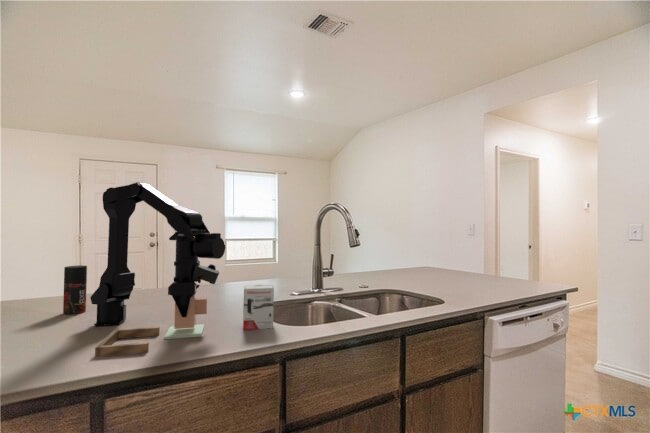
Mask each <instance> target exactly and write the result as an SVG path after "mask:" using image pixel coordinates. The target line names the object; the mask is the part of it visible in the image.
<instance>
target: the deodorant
mask: <svg viewBox="0 0 650 433" xmlns="http://www.w3.org/2000/svg"><path fill="white" fill-rule="evenodd" d="M63 271H64V272H63V275H64V276H63V299H62V300H63V303H62V306H63V309H62V310H63V311H62V315H63V316H74V315H80V314H83V313H86V311H87V286H88V285H87V284H88V283H87V281H88V279H87V278H88V265H68V266H64V270H63Z"/></svg>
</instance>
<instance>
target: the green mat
mask: <svg viewBox="0 0 650 433" xmlns="http://www.w3.org/2000/svg"><path fill="white" fill-rule="evenodd" d="M174 327H175V325H172V326H170V327H169V328H168V330H167V332H166V333H165V335H164V338H163V339H164V340H172V339H174V340H175V339H188V338H198V337H199V338H200V337H203V333H204V329H205V323H202V324H201V323H200V324H195V326H194V328H182V329H174Z"/></svg>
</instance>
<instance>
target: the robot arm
mask: <svg viewBox="0 0 650 433" xmlns="http://www.w3.org/2000/svg"><path fill="white" fill-rule="evenodd" d="M142 202H144V203H145V204H147V205H148V206H149V207H151V208H152V209H154V210H155V211H157V212H158V213H160V214H161V215H162V216H164V217H165V218H166V221H167V224H168V225H169V226H170V227H171V228H172V229H173V230H174V231H175V232H174V233H173V234H172V235H171V236H170V237H169V238H168V240H169V241H175V261H173V266H174V268H175V269H174V276H173V282H172V283H171V284H170V285H169V286H167V287H168V289H167V295H168V296H171V297H172V299H173V301H174V304H175V303H176V305H177V307H178V309H179V312H180V314H181V316H182V317H186V316H187V312H188V308H189V303H190V298H191V297H192V296H193V295H194V294H195V293H196V294H197V289H199V287H200V286H201V285H200V284H201V283H202V281H205V282H207V283H209V284H211V285H215V284H216V282H217V279H218V277H219V275H220V271H219V270H218V269H217V268H216V267H217V266H216V265H214V264H209V265H208V266H205V265H204V266H203V265H201V261H200V260H199V259H213V260H214V259H216V260H217V259H218V260H219V259H222V257H223V256H224V254H225V251H226V244H225V241H224V239H223V238H222V236H221V233H220V232H213V233H212V232H210V231H209V229H208V227H207V226H206V224H205V222H204V221H203V215H201V213H199V212H197V211H195V210H192V209H190V208H186V207H184V206H181V205H179V204H177V203H176V202H175V201H173V200H172V199H170V198H168V197H167V196H165V195H164V194H163V193H161V192H160V191H159V190H157V189H156V188H154V187H153V186H152V185H151V184H149V183H146V182H145V183H144V182H133V183H131V184H127V185H122V186H116V187H109V188H107V189H106V190H105V191H103V194H102V208H103V210H104V211H105V214H106V215H107V217H108V219H109V220H108V239H107V240H108V241H107V242H108V243H107V244H108V246H107V265H106V266H107V267H106V269H105V270H104V271H103V273H102V275H101V276H100V279H99V285H98V288H97V289H96V290H95V291H94V292H93V294H91V296H90V301H91V304H92V305H96V322H95V323H94V324H93V326H94V327H100V326H114V325H121V323H122V322H124V321H125V320H126V318H127V305H126V304H125V300H130V298H131V295H132V294H131V293H132V292H133V290H134V286H135V287H136V283H135V278H136V274H135V272H134V271H133V272H131V270H130V269H129V267H128V256H129V254H128V253H129V252H128V251H129V250H128V249H129V228H130V227H129V226H130V224H129V223H130V218H131V217H132V215H133V214H134V212H135V210H136V206H137V204H138V203H142ZM216 269H217V270H216ZM197 283H198V284H197Z"/></svg>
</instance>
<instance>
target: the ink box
mask: <svg viewBox="0 0 650 433" xmlns="http://www.w3.org/2000/svg"><path fill="white" fill-rule="evenodd" d="M274 288H275V287H274V285H273V284H271V283H270V284H267V283H264V284H245V285H244V286H243V306H242V307H243V313H242V314H243V317H242V320H243V322H242V325H243V326H242V330H243V331H245V330H246V331H247V330H248V331H249V330H251V331H252V330H266V329H267V328H270V329H274V311H275V310H274V309H275V308H274V307H275V306H274V299H275V297H274V296H275V291H274V290H275V289H274ZM267 330H268V329H267Z"/></svg>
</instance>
